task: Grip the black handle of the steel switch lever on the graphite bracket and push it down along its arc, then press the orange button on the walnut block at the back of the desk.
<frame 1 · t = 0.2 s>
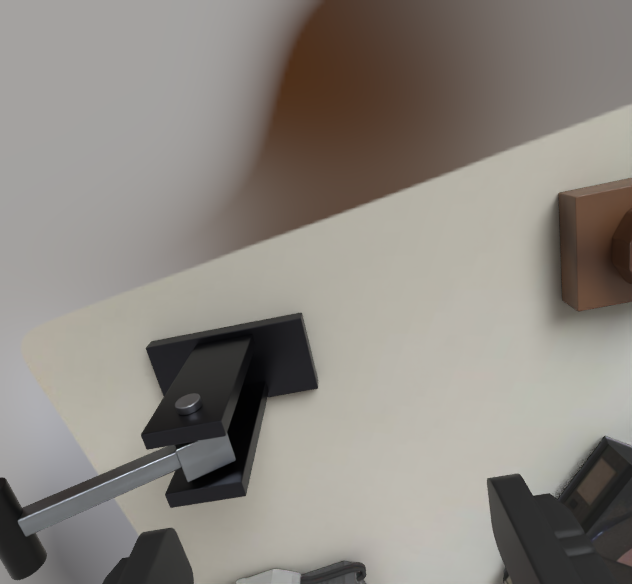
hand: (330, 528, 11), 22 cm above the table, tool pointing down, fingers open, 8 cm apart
portable cd player: (626, 532, 40), on the table
switch lever: (117, 481, 24), point 12 cm above the table, hinge at 25.0°
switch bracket: (235, 361, 35), on the table
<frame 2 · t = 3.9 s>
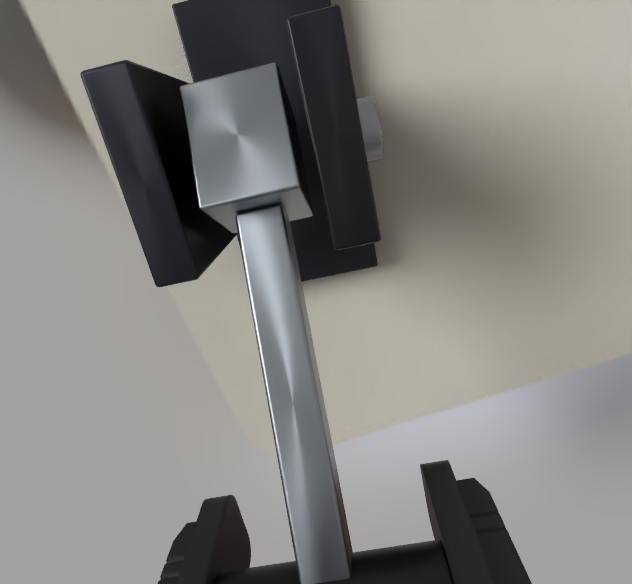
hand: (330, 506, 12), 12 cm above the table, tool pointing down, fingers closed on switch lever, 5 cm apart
switch lever: (288, 355, 10), point 12 cm above the table, hinge at 24.9°, touching gripper
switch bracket: (286, 146, 20), on the table
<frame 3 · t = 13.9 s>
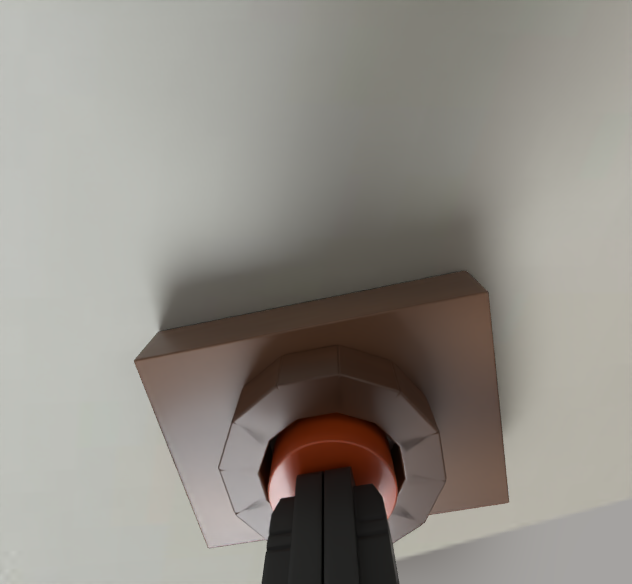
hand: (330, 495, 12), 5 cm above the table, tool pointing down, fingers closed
start button: (332, 472, 13), point 4 cm above the table, slide at -0.5 cm, touching gripper
button block: (330, 398, 17), on the table
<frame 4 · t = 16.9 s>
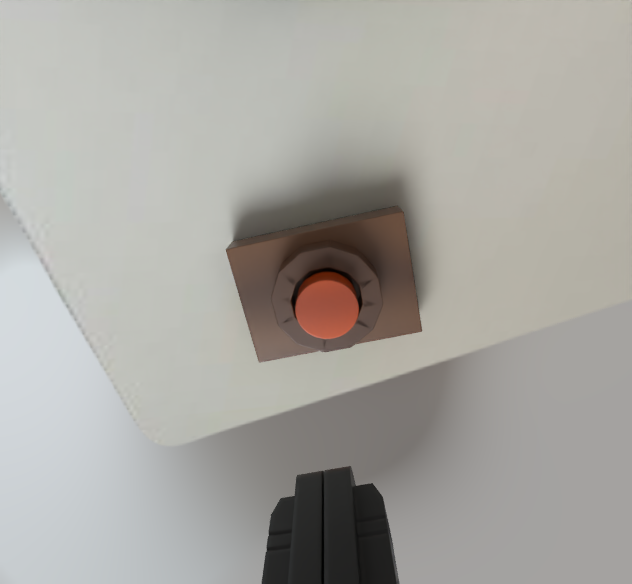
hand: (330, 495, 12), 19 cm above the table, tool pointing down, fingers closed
start button: (326, 304, 26), point 4 cm above the table, slide at 0.1 cm
button block: (326, 281, 30), on the table
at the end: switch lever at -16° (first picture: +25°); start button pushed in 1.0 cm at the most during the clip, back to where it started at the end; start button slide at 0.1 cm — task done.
